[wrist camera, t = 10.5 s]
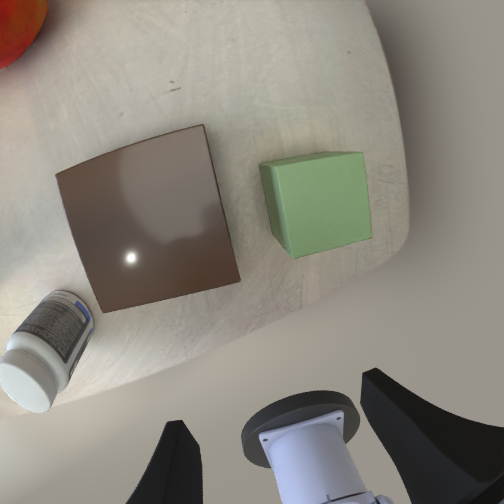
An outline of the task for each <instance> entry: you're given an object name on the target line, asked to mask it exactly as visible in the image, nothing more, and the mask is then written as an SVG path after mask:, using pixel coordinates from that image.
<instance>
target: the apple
mask: <svg viewBox="0 0 504 504" xmlns="http://www.w3.org/2000/svg"><path fill="white" fill-rule="evenodd" d="M47 12H48V5H47V0H0V69H1V68H4V67H7V66H8V65H10V64H11V63H12V62H14V61H15V60H16V59H17V58H19V57H20V56H21V55H22V54H23V53H24V51H25V50H26V49H27V48H28V47H29V46H30V45H31V44H32V42H33V41H34V39H35V37H36V36H37V34H38V33H39V31H40V29H41V27H42V25H43V22H44V20H45V17H46V15H47Z"/></svg>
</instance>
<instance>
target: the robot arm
mask: <svg viewBox="0 0 504 504" xmlns="http://www.w3.org/2000/svg"><path fill="white" fill-rule="evenodd" d="M360 404H361V406H362V408H363V410H364V413H365V415H366V417H367V419H368V421H369V423H370V425H371V427H372V428H373V430H374V432H375V433H376V435H377V436H378V438H379V439H380V441H381V442H382V444H383V446H384V447H385V449H386V451H387V452H388V454H389V455H390V457H391V458H392V460H393V462H394V464H395V466H396V467H397V470H398V472H399V474H400V476H401V478H402V480H403V483H404V485H405V488H406V490H407V493H408V495H409V498H410V500H411V503H412V504H504V427H497V426H492V425H486V424H483V423H479V422H475V421H472V420H468V419H465V418H462V417H460V416H457V415H455V414H452V413H450V412H447V411H445V410H443V409H441V408H439V407H437V406H435V405H433V404H431V403H429V402H428V401H426V400H424V399H422V398H421V397H419V396H417V395H416V394H414V393H412V392H411V391H409V390H408V389H406V388H405V387H403V386H402V385H400V384H399V383H397V382H396V381H394V380H393V379H392V378H390V377H389V376H387V375H386V374H384V373H383V372H382V371H381V370H379V369H378V368H373V369H371V370H369V371H366V372H364V373H362V388H361V401H360ZM343 423H344V412H343V410H336V411H333V412H330V413H327V414H325V415H322V416H318V417H315V418H312V419H309V420H306V421H302V422H299V423H296V424H292V425H289V426H285V427H281V428H277V429H273V430H269V431H265V432H262V433H260V434H259V439H260V442H261V444H262V447H263V449H264V451H265V454H266V456H267V459H268V461H269V463H270V466H271V468H272V470H273V473H275V477H276V481H277V485H278V489H279V493H280V496H281V500H282V504H395V503H394V502H393V500H392V499H391V498H390V497H387V496H383V495H378V496H376V497H374V496H373V493H372V492H371V491H367V489H366V487H365V484H364V483H363V480H362V478H361V476H360V474H359V472H358V469H357V467H356V465H355V463H354V461H353V459H352V457H351V455H350V452H349V450H348V448H347V446H346V444H345V442H344V440H343ZM126 504H203V480H202V462H201V454H200V447H199V445H198V443H197V442H196V440H195V439H194V438H193V436H192V434H191V433H190V431H189V430H188V428H187V427H186V425H185V424H184V422H183V421H182V420H176V421H168V422H167V423H166V425H165V428H164V430H163V433H162V435H161V437H160V440H159V442H158V445H157V447H156V449H155V452H154V454H153V456H152V458H151V460H150V462H149V464H148V466H147V469H146V471H145V472H144V474H143V476H142V478H141V480H140V482H139V483H138V485H137V487H136V489H135V490H134V492H133V493H132V495H131V496H130V498H129V499H128V501H127V502H126Z"/></svg>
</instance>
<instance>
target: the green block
mask: <svg viewBox="0 0 504 504" xmlns="http://www.w3.org/2000/svg"><path fill="white" fill-rule="evenodd" d="M259 169H260V173H261V178H262V183H263V188H264V193H265V198H266V203H267V208H268V213H269V218H270V223H271V228H272V233H273V235H274V237H275V238H276V239H277V240H278V242H279V243H280V244H281V245H282V246H283V248H284V249H285V250H286V251H287V253H288V254H289V255H290V256H291V258H292V259H295V258H299V257H302V256H306V255H310V254H314V253H318V252H322V251H325V250H329V249H333V248H337V247H340V246H344V245H348V244H352V243H355V242H359V241H363V240H367V239H370V238H372V229H371V216H370V205H369V195H368V186H367V178H366V171H365V163H364V157H363V152H322V153H316V154H309V155H303V156H298V157H292V158H286V159H281V160H276V161H271V162H266V163H261V164H259Z"/></svg>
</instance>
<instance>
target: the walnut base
mask: <svg viewBox="0 0 504 504" xmlns="http://www.w3.org/2000/svg"><path fill="white" fill-rule="evenodd" d="M55 177H56V181H57V185H58V189H59V193H60V197H61V200H62V204H63V208H64V211H65V215H66V218H67V221H68V224H69V228H70V231H71V234H72V237H73V240H74V243H75V246H76V248H77V251H78V254H79V257H80V260H81V262H82V265H83V267H84V270H85V273H86V275H87V278H88V280H89V283H90V285H91V287H92V290H93V292H94V294H95V297H96V299H97V301H98V303H99V306H100V308H101V310H102V312H103V313H107V312H112V311H116V310H121V309H126V308H130V307H135V306H139V305H144V304H148V303H153V302H157V301H162V300H166V299H170V298H175V297H179V296H183V295H188V294H192V293H196V292H200V291H204V290H209V289H213V288H217V287H221V286H225V285H229V284H233V283H237V282H240V281H241V279H240V275H239V271H238V267H237V263H236V259H235V255H234V251H233V247H232V243H231V239H230V235H229V230H228V226H227V222H226V218H225V214H224V209H223V205H222V201H221V197H220V192H219V188H218V184H217V180H216V175H215V171H214V166H213V162H212V158H211V153H210V149H209V144H208V140H207V136H206V131H205V127H204V124H200V125H196V126H192V127H188V128H184V129H181V130H177V131H173V132H170V133H166V134H163V135H159V136H156V137H153V138H149V139H146V140H143V141H140V142H137V143H134V144H131V145H128V146H125V147H122V148H119V149H116V150H113V151H111V152H108V153H105V154H103V155H100V156H97V157H95V158H92V159H90V160H87V161H85V162H82V163H80V164H77V165H75V166H73V167H70V168H68V169H66V170H64V171H61V172H59V173H57V174H56V175H55Z"/></svg>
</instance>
